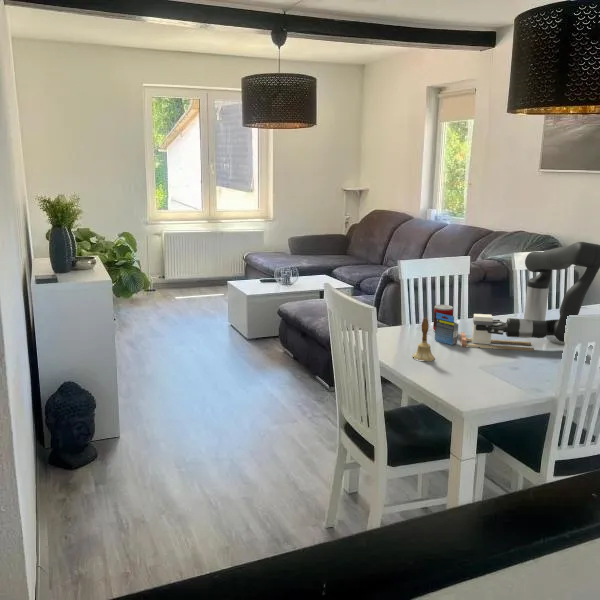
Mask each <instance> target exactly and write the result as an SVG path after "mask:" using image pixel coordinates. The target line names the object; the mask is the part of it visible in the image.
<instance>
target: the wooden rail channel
mask: <svg viewBox="0 0 600 600" xmlns="http://www.w3.org/2000/svg"><path fill="white" fill-rule="evenodd" d="M459 339H460V344H462V345H461V348H478V347H480V348H482V349H492V348H493V349H494V350H506V351H511V350H512V351H521V352H522V351H523V352H535V348H534V347H531V346H532V342H531V341H522V340H521V341H520V340H504V339H491V344H486V343H469V342H471V341H472V337H467V336H466V332H464V331H463V332H462V331H461V332H460V338H459ZM501 343H503V344H504V345H503V344H502V345H501ZM495 344H500V345H495ZM510 345H511V346H510ZM513 345H518V346H513ZM466 346H468V347H466ZM523 346H524V347H523ZM525 346H530V347H525ZM480 348H479V349H480Z"/></svg>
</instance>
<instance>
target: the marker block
mask: <svg viewBox="0 0 600 600" xmlns="http://www.w3.org/2000/svg"><path fill="white" fill-rule="evenodd" d="M493 320H494V317H493V315H492V314H489V313H487V314H483V313H473V319H472V332H471V333H472V335H471V338H472V341H473V342H472V344H486V345H492V343H491V340H492V333H488V332H486V330H485V331H479V330H476V325H492V323H493Z"/></svg>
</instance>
